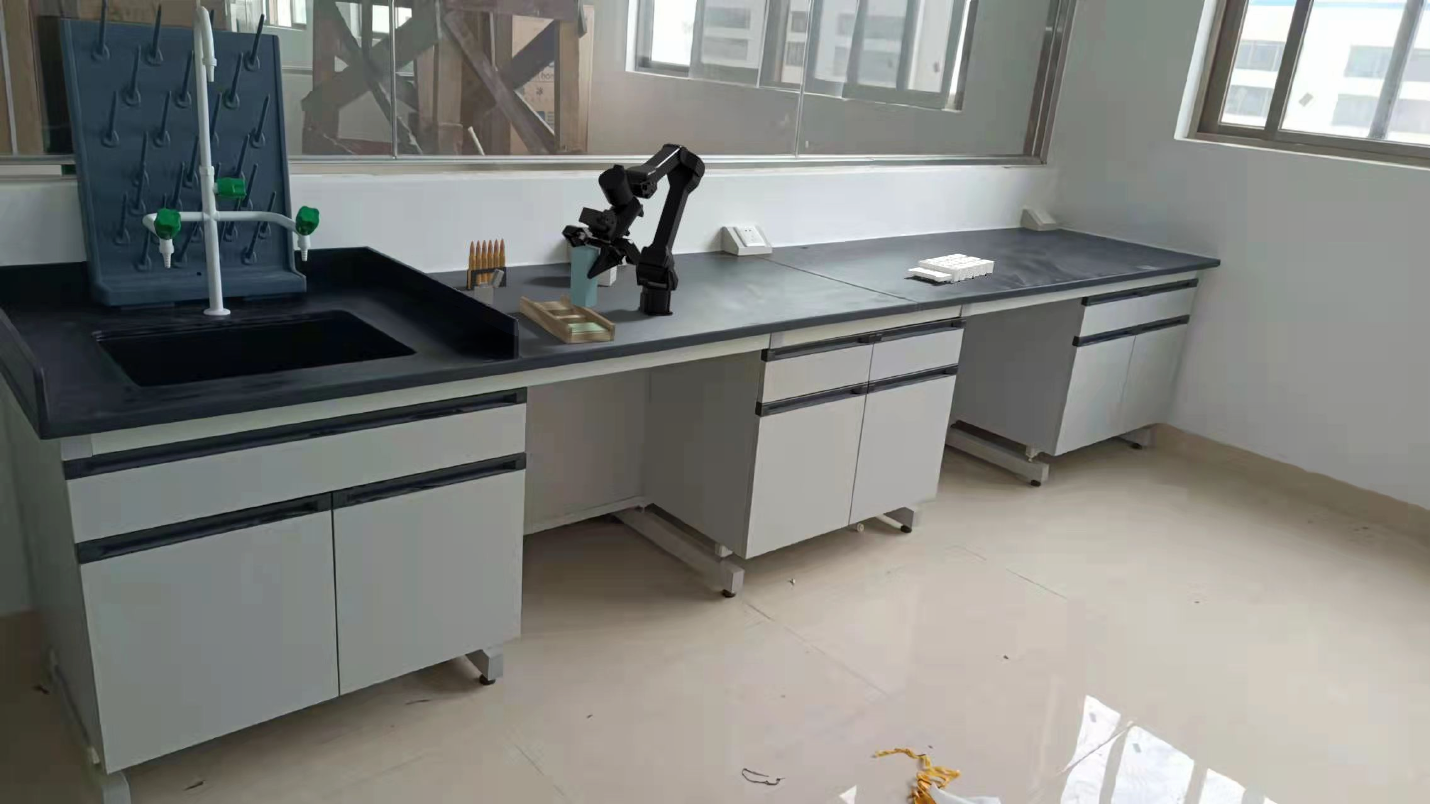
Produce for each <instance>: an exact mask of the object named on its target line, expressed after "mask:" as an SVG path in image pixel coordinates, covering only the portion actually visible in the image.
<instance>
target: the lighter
mask: <svg viewBox="0 0 1430 804" xmlns="http://www.w3.org/2000/svg"><path fill="white" fill-rule="evenodd" d="M503 274H504V272H503V271H501V270H498V269H495V271H494V274H493V276H492V279H491V281H490V283H489V285H488V282H480V283H479V286H476V287H474V293H473V294H474V295H473V298H474V297H475V298H478V299H479V300H482V301H483V302H486V303H488V304H490V305H489V306H492V305H493V304H494V303H493V299H494V298H493V297H494V289H499V288H498V286H499V284H500V281H501V279H502V276H503ZM493 287H495V288H493Z"/></svg>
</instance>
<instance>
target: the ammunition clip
mask: <svg viewBox="0 0 1430 804" xmlns="http://www.w3.org/2000/svg"><path fill="white" fill-rule="evenodd" d="M481 246H482V247H481ZM505 249H506V244H505V241H504V238H501V240H500V244H499V240H498V239H497V238H496V239H495V240H494V245H493V241H492V239H489V241H488V244H487V242H486V239H484V240H483V242H482V245H481V242H480V240H477V242H476V246H475V243H474V240H472V241H471V242H470V246H469V253H468V268H467V269H466V270H467V272H466V273H467V274H466V290H467V291H471V292H473V291H474V287H476V286H479V283H480V282H488V285H489V283H490V281H491V279H492V276H493V274H494V271H495V269H498V270H501V271H503V272H504V274H503V276H502V279H501V281H500V284H499V286H498V288H497V289H499V288H505V287H507V286H508V285H507V284H508V282H507V266H506V250H505ZM493 289H496V288H495V287H493Z"/></svg>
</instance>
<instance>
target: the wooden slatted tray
mask: <svg viewBox="0 0 1430 804" xmlns="http://www.w3.org/2000/svg"><path fill="white" fill-rule="evenodd" d="M519 298H520V301H519V302H520V303H519V313H521V314H523V316H526V317H527V318H529V320H532V321H533V322H535V323H536V324H537V325H539V326H540V327H542V328H543V329H545V330H546V331H547V332H549V333H550V334H551V335H553V336H555V337H557V338H558V339H559V340H561V341H562V342H564V343H565V344H567V345H570V344H583V343H597V342H608V341H609V342H610V341H615V335H616V324H615V323H614V322H611V321H610V320H608V319H607V318H605V317H603V316H602V315H600V314H598V313H597V312H595V311H593V310H591V309H590V308H589V307H586V308H584V307H580V306H576V305H571V304H570V296H568V295H566V294H561V295H560V300H559V301H558V300H557V301H540V302H538V301H537V302H533V301H532V300H531V299H529V298H528V297H526V296H520V297H519Z"/></svg>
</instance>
